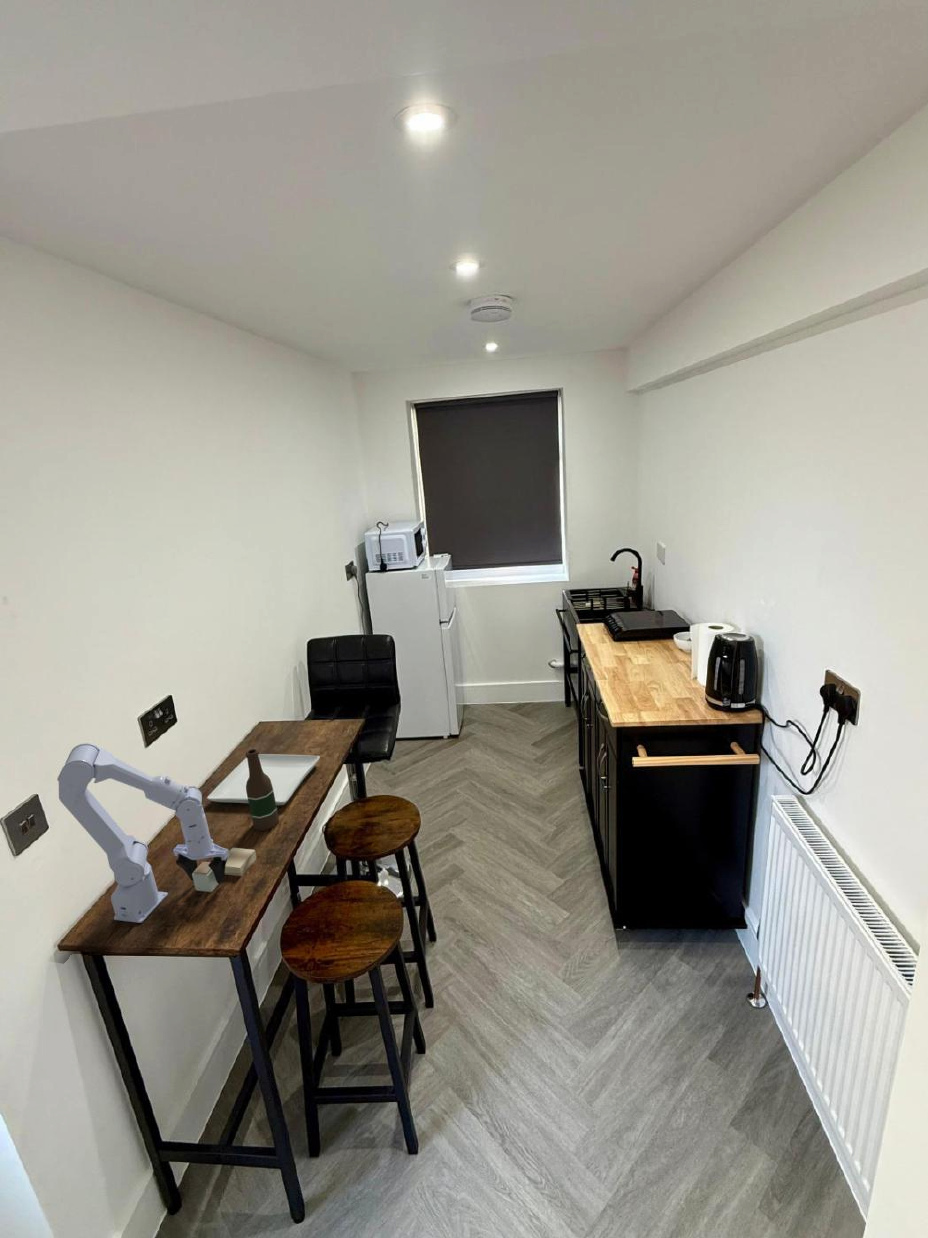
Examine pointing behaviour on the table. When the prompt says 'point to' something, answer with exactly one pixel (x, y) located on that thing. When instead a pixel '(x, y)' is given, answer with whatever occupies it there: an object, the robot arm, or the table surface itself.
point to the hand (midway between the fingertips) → (208, 879)
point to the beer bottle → (260, 794)
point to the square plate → (277, 767)
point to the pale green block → (204, 878)
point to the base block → (239, 861)
